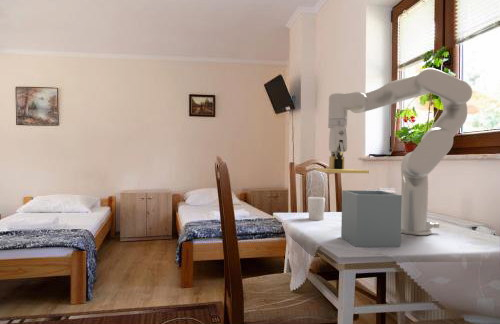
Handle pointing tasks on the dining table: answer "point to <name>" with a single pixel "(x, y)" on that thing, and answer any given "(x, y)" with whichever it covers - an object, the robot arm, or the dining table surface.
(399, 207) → the tub
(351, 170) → the lid
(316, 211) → the white cup
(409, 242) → the dining table surface
